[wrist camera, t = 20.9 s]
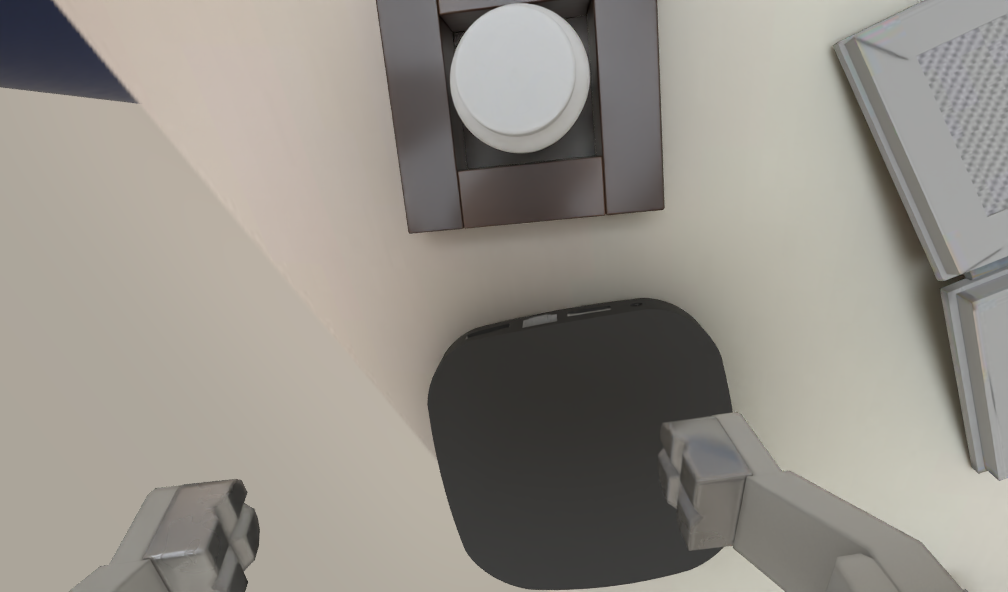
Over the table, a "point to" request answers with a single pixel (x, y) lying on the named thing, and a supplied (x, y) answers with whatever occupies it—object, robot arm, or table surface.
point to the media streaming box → (572, 441)
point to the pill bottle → (519, 78)
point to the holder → (534, 185)
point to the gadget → (951, 179)
